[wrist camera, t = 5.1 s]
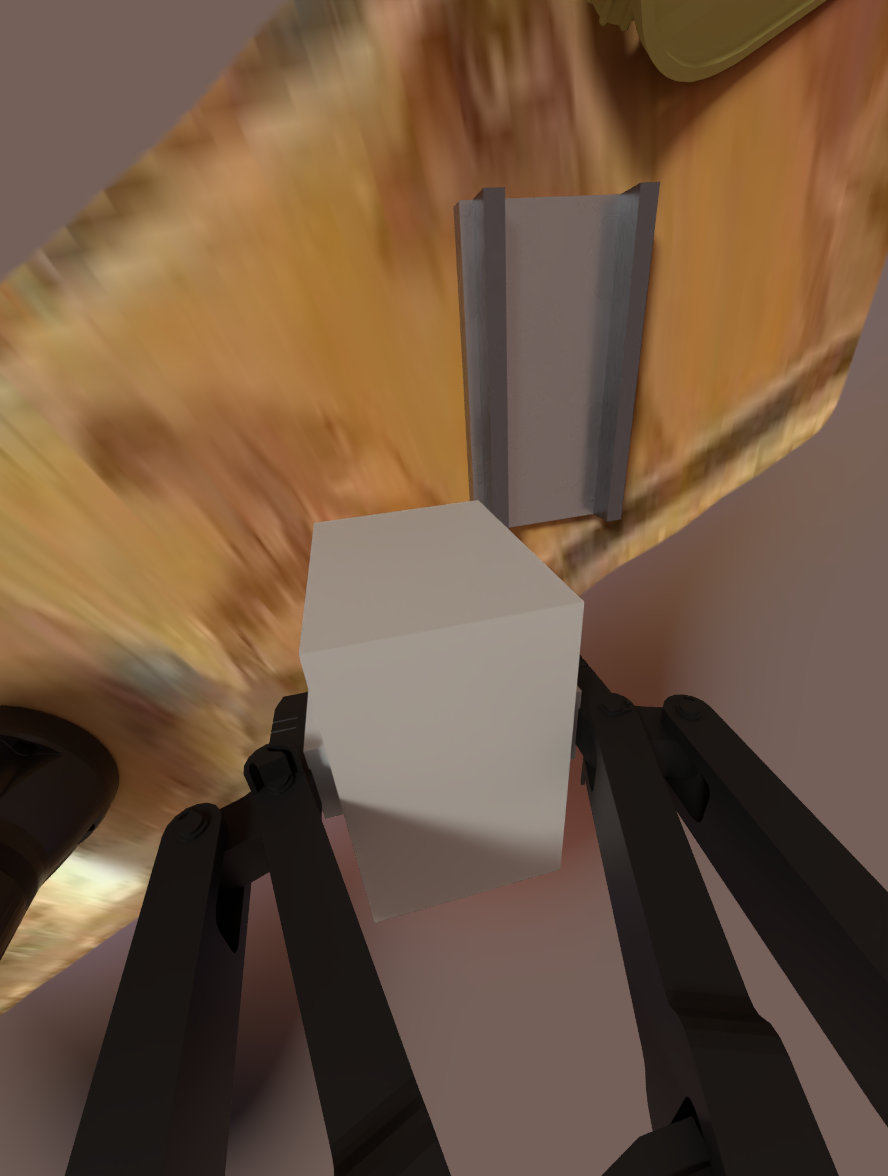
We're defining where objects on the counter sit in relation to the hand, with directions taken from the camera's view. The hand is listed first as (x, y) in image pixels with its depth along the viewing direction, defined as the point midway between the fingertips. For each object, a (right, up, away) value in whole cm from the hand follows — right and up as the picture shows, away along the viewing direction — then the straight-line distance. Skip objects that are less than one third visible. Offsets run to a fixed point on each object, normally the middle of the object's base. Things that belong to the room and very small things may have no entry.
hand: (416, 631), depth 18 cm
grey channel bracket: (+8, +16, +14) cm, 23 cm away
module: (0, 0, 0) cm, 0 cm away
